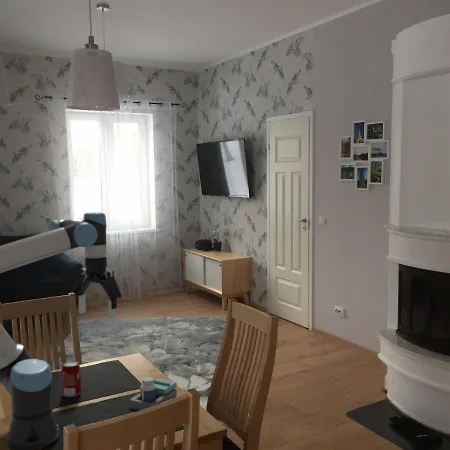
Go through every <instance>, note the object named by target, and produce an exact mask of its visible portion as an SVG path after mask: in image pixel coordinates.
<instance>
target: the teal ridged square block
mask: <svg viewBox="0 0 450 450" xmlns="http://www.w3.org/2000/svg"><path fill="white" fill-rule="evenodd" d="M153 384H155V386H156V393H161V394H167V393H168V392H170V391H171V390H173V389H176V388H177V382H176V381H172V380H167V379H163V378H154V383H153Z"/></svg>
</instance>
